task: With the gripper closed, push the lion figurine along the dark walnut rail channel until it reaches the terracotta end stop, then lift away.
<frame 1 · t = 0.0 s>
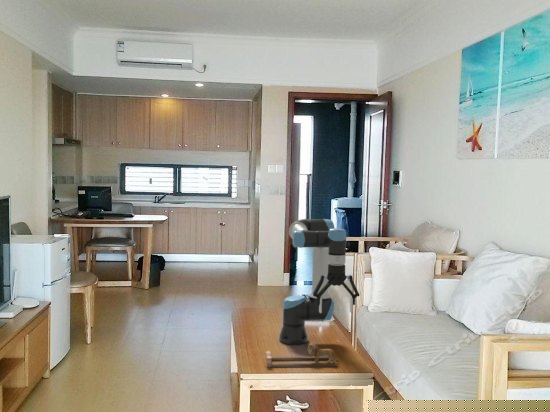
hand: (335, 312, 233), 28 cm above the table, fingers open, 13 cm apart
track: (302, 362, 249), on the table
lion figurine: (321, 363, 250), on the table
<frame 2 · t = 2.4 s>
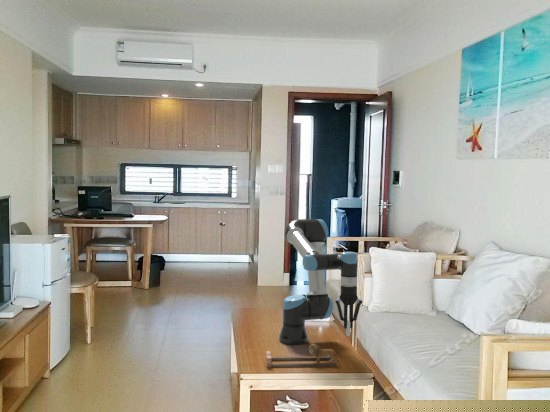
hand: (347, 335, 250), 13 cm above the table, fingers closed
nothing on the table moved.
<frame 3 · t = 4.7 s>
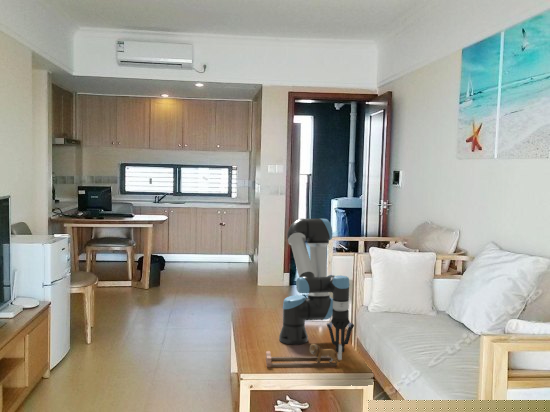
hand: (339, 358, 251), 2 cm above the table, fingers closed
lion figurine: (323, 363, 250), on the table, touching gripper
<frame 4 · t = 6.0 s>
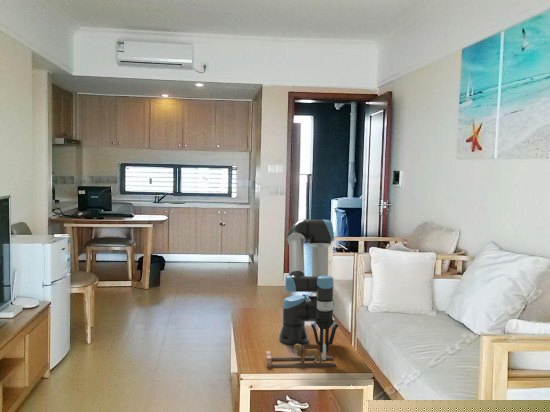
hand: (323, 358, 250), 2 cm above the table, fingers closed
lion figurine: (307, 363, 249), on the table, touching gripper
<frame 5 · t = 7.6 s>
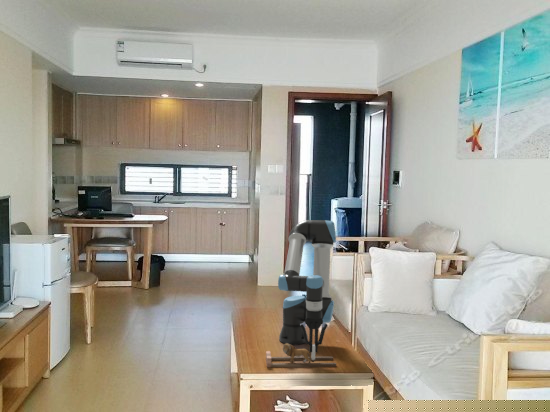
hand: (313, 358, 250), 2 cm above the table, fingers closed
lion figurine: (297, 363, 249), on the table, touching gripper
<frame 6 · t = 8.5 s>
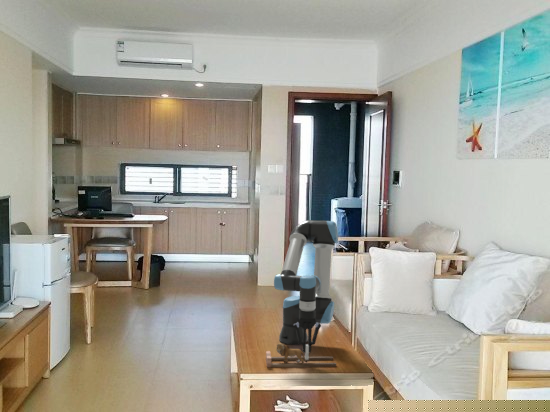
hand: (306, 358, 249), 2 cm above the table, fingers closed
lion figurine: (290, 363, 249), on the table, touching gripper, track
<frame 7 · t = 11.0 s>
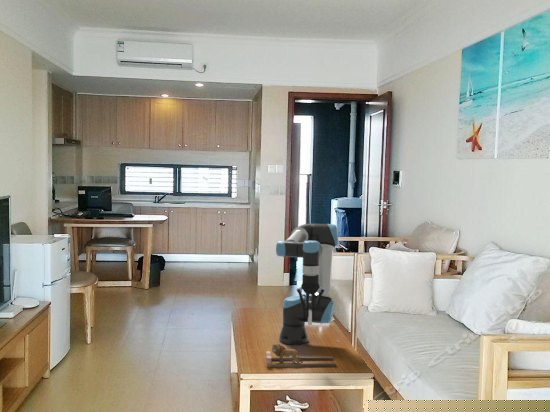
hand: (309, 324, 249), 18 cm above the table, fingers closed
lion figurine: (286, 363, 249), on the table
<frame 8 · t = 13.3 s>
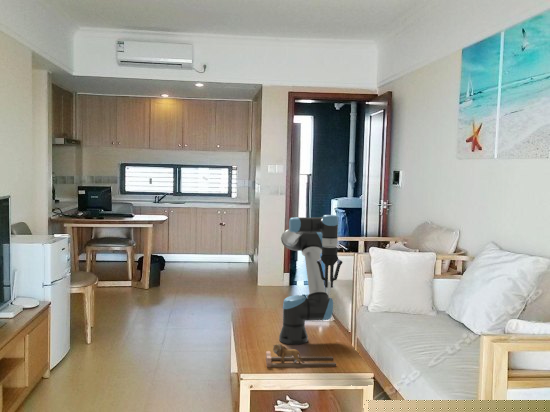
hand: (328, 294, 263), 29 cm above the table, fingers closed
nothing on the table moved.
at the end: lion figurine inside the target area (1.0 cm from its centre), on the table; lion figurine tilted 0°; lion figurine moved 16.0 cm from its start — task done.
